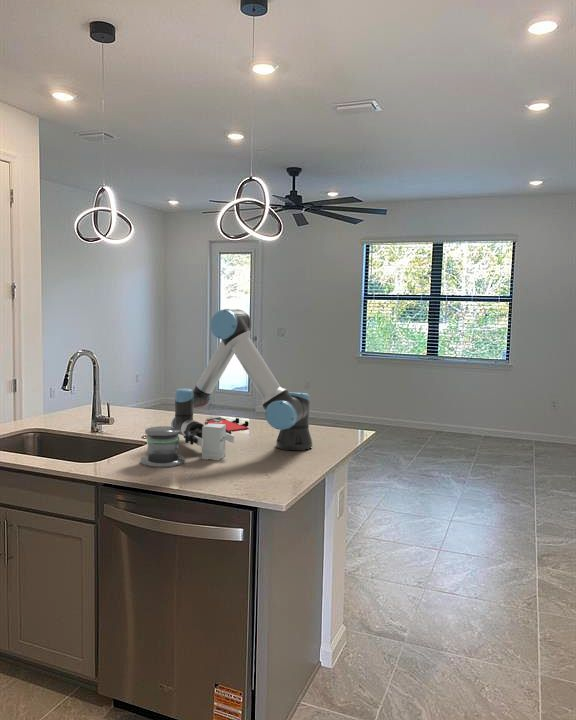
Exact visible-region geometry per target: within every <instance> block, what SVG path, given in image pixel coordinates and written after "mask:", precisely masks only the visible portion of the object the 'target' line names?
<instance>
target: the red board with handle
mask: <svg viewBox="0 0 576 720" xmlns="http://www.w3.org/2000/svg"><path fill="white" fill-rule="evenodd" d="M206 420H207V421H204V424H205V423H207V424H208V423H210V424H226V431H227V430H228V431H232V432H239V431H240V430H241V431H247V429H250V428H249V421H247V420H246V421H244V423H241V424H240V418H238V417H236V418H235V420H234V419H233V420H232V421H230V420H228V419H227V418H223V417H221V416H219V417H210V418H206ZM237 423H239V424H237ZM207 424H206V425H207ZM247 426H248V427H247Z"/></svg>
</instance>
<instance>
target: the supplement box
mask: <svg viewBox="0 0 576 720" xmlns="http://www.w3.org/2000/svg"><path fill="white" fill-rule="evenodd" d="M225 435H226V424H210V423H208V424H205V425H204V426H203V427H202V439H203V446H201V459H202V460H208V459H213V460H212V461H220V460H221V459H222V458H224V457H225V456H226V440H225Z"/></svg>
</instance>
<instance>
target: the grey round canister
mask: <svg viewBox="0 0 576 720" xmlns="http://www.w3.org/2000/svg"><path fill="white" fill-rule="evenodd" d="M180 433H181V429H180V428H177V427H172V426H171V425H169V426H166V425H164V426H163V425H162V426H161V425H160V426H151V427H148V428H145V430H144V434H145V435H147V437H146V442H147V455H145V456H144V457H142V458H140V464H141V465H142V464H143V465H142V466H144V465H145V466H144V467H147V466H151V467H150V468H154V467H167V468H171V467H170V466H175V467H177V466H176V465H179V466H181V465H180V464H182V463H184V462H185V463H186V458H185V456H183V455H180V454H179V442H180V436H179V435H180ZM185 463H184V464H185ZM182 465H183V464H182Z"/></svg>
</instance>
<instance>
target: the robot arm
mask: <svg viewBox="0 0 576 720" xmlns="http://www.w3.org/2000/svg"><path fill="white" fill-rule="evenodd" d="M209 325H210V326H209V327H210V331H211V333H212V335H213V336H214V337H215V338H217V339H219V340H220V342H219V344H218V346H217V347H216V349H215V352H214V353H213V354H212V356H211V358H210V360H209V362H208V363H207V366H206V367H205V369H204V370H203V372H202V374H201V376H200V378H199V379H198V380H197V383H196V385H195V386H194V388H193V389H192V388H185V387H183V388H177V389H176V390H175V397H174V405H175V406H174V417H173V418H172V420H171V423H170V424H171V425H170V427H177V428H180V429H181V433H180V434H179V435H181V436H183V438H184V439H185V440H184V443H185V444H188V443H189V442H190V445H191V446H192V445H194V444H196V445H197V446H199V447H202V446H203V439H202V427H203V426H205V425H204V424H203V423H202V422H198V421H196V420H194V410H195V409H197V408H202V407H205V406H207V405H208V404H209V403H210V402H211V399H212V395H211V394H212V393H213V391H214V389H215V388H216V386H217V384H218V382H219V380H220V379H221V378H222V375H223V373H224V372H225V370H226V368H227V366H229V364H230V362H231V360H232V358H233V356H234V355H235V357H236V358H237V360H238V361H239V363H240V365H241V366H242V368H243V370H244V371H245V372H246V375H247V376H248V378H249V379H250V380H251V382H252V385H254V387H255V389H256V391H257V393H259V395H260V397H261V398H262V403H261V405H262V407H263V409H264V410H265V413H264V416H265V419H266V422H267V424H268V425H269V426H271V428H273V429H276V430H280V431H279V432H278V435H277V439H276V442H275V443H276V446H275V447H276V448H278V449H280V450H283V449H284V450H285V451H290V450H302V451H306V450H305V449H308V450H310V449H309V448H311V447H312V448H313V440H312V437H311V432H310V429H309V428H310V426H309V425H310V402H311V401H310V394H309V393H306V392H294V391H288V389H287V388H284V387H281V385H280V384H279V382H278V381H277V379H276V377H275V376H274V374H273V372H272V371H271V369H270V367H269V366H268V365H267V362H266V361H265V360H264V358H263V356H262V355H261V353H260V351H259V350H258V348H257V347H256V345H255V344H254V342H253V340H252V339H251V333H252V332H251V329H252V320H251V317H250V315H249V314H248V313H247V312H245V311H244V310H242V309H238V308H237V309H230V308H225V309H219V310H218V311H215V313H214V314H213V316H212V317H211V320H210V324H209ZM225 441H227V442H230V443H235V435H234V434H232V432H231V431H228V430H227V431H226V435H225ZM312 448H311V449H312Z"/></svg>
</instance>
